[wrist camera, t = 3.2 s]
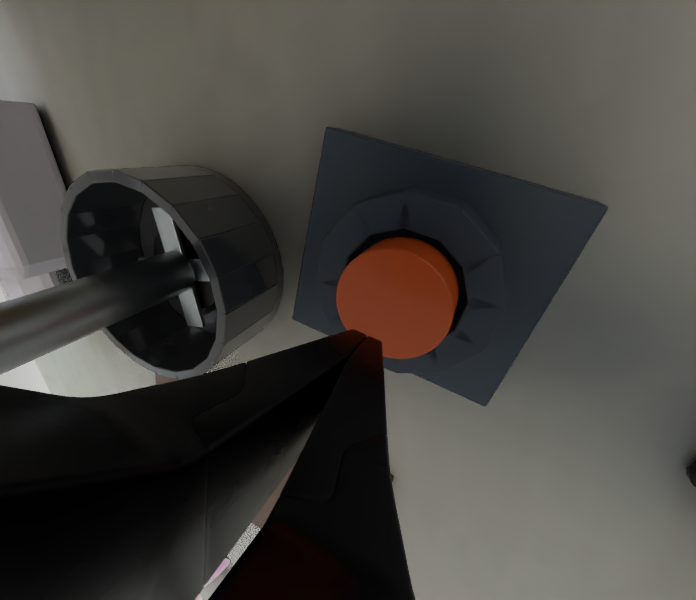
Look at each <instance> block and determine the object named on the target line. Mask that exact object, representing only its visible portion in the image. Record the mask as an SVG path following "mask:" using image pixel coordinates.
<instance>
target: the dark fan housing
mask: <svg viewBox="0 0 696 600" xmlns="http://www.w3.org/2000/svg"><path fill="white" fill-rule="evenodd" d="M152 207H160V208H162V209H163V210H164V211H165V212H167V213H168V214H169V215H170V216H171V218H172V219H173V220H174V222H175V223H176V224H177V225H178V227H179V228H180V229H181V231H182V232H183V233H184V234H185V236H186V237H187V238H188V240H189V241H190V242H191V243H192V245H193V247H194V249H195V251H196V253H197V255H198V257H199V259H200V261H201V263H202V265H203V267H204V269H205V271H206V273H207V275H208V277H209V280H210V284H211V288H212V292H213V297H214V301H215V304H214V305H212V306H210V307H207V308H201V309H202V313H203V316H204V320H205V323H206V326H205V327H204V328H202V327H194V326H188V325H187V321H186V318H185V315H184V312H183V308H182V305H181V302H180V300H179V299H177V298H176V297H175V296H174V297H172V298H170V299H168V300H165V301H163V302H161V303H159V304H156V305H154V306H152V307H150V308H148V309H145V310H143V311H141V312H139V313H136V314H134V315H132V316H130V317H127V318H125V319H123V320H121V321H119V322H116V323H114V324H112V325H110V326H107V327H105V328H103V329H102V330H103V331H104V333H105V334H106V335H107V336H108V337H109V339H110V340H111V341H112V342H113V343H114V344H115V345H116V346H117V347H118V348H120V349H121V350H122V351H123V352H124V353H125V354H126V355H128V356H129V357H130V358H131V359H132V360H133V361H135V362H136V363H138V364H140V365H142V366H143V367H145V368H147V369H149V370H151V371H152V372H154V373H156V374H159V375H163V376H167V377H171V378H174V379H186V378H190V377H194V376H198V375H202V374H204V373H205V372H206V371H208V370H209V369H211V368H212V367H213V366H215V365H216V364H217V363H219V362H220V361H221V360H223V359H224V358H225V357H227V356H228V355H229V354H231V353H232V352H233V351H235V350H236V349H237V348H239V347H240V346H241V345H242V344H244V343H245V342H246V341H248V340H249V339H250V338H252V337H253V336H254V335H256V334H257V333H258V332H260V331H261V330H262V329H263V328H264V327H266V326H267V324H268V323H269V322H270V321H271V320H272V318H273V316H274V315H275V313H276V311H277V309H278V306H279V303H280V299H281V295H282V287H283V271H282V264H281V257H280V254H279V250H278V246H277V243H276V241H275V238H274V236H273V233H272V231H271V229H270V227H269V225H268V223H267V221H266V219H265V218H264V216H263V215H262V213H261V212H260V210H259V208H258V207H257V206H256V205H255V203H254V202H253V201H252V200H251V198H250V197H249V196H248V195H247V194H246V193H245V192H244V191H243V190H242V189H241V188H239V187H238V186H237V185H236V184H234V183H233V182H232V181H231V180H229V179H227V178H226V177H224V176H223V175H221V174H219V173H217V172H214V171H212V170H210V169H206V168H203V167H198V166H187V165H185V166H163V167H142V168H121V169H105V170H93V171H87V172H86V173H84V174H83V175H82V176H81V177H79V178H78V179H77V180H76V181H74V182H73V183H72V184H71V185H70V186H69V188H68V191H67V193H66V196H65V198H64V200H63V203H62V205H61V213H60V238H61V243H62V248H63V253H64V257H65V262H66V266H67V268H68V270H69V273H70V275H71V278H72V280H73V281H74V280H77V279H80V278H84V277H87V276H90V275H94V274H97V273H100V272H103V271H107V270H110V269H113V268H116V267H120V266H123V265H126V264H130V263H133V262H136V261H139V260H138V258H140V257H153V256H154V241H155V238H156V236H157V234H158V232H159V231H158V227H157V224H156V221H155V218H154V214H153V211H152Z"/></svg>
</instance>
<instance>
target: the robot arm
mask: <svg viewBox="0 0 696 600" xmlns="http://www.w3.org/2000/svg"><path fill="white" fill-rule="evenodd" d="M297 459H298V460H297ZM296 461H297V462H296ZM295 462H296V464H295V466H294V468H293V470H292V472H291V474H290V476H289V478H288V480H287V482H286V484H285V486H284V488H283V490H282V492H281V494H280V497H279V498H278V500H277V502H276V504H275V506H274V508H273V509H272V511H271V513H270V515H269V517H268V519H267V520H266V522H265V524H264V525H263V527H262V529H261V530H260V531H259V533H258V534H257V535H256V537H255V538H254V539H253V541H252V542H251V543H250V545H249V546H248V547H247V549H246V550H245V551H244V553H243V554H242V555H241V557H240V558H239V559H238V561H237V562H236V563H235V565H234V566H233V567H232V569H231V570H230V571H229V573H228V574H227V575H226V577H225V578H224V579H223V581H222V582H221V583H220V585H219V586H218V587H217V589H216V590H215V591H214V593H213V594H212V595H211V597H210V598H209V599H208V600H415V596H414V592H413V589H412V584H411V579H410V575H409V570H408V565H407V560H406V555H405V550H404V545H403V540H402V535H401V529H400V524H399V519H398V514H397V509H396V504H395V499H394V493H393V487H392V481H391V475H390V465H389V454H388V438H387V422H386V404H385V385H384V366H383V347H382V342H381V341H380V340H378V339H375V338H373V337H371V336H366V334H364V333H362V332H359V331H357V330H355V329H351V330H347V331H344V332H341V333H338V334H335V335H331V336H328V337H325V338H322V339H318V340H315V341H312V342H309V343H306V344H302V345H299V346H296V347H293V348H290V349H286V350H283V351H280V352H277V353H273V354H270V355H267V356H264V357H261V358H257V359H254V360H251V361H248V362H247V365H246V363H241V364H238V365H234V366H231V367H228V368H224V369H221V370H217V371H214V372H210V373H207V374H202V375H198V376H194V377H190V378H186V379H181V380H177V381H172V382H168V383H163V384H159V385H154V386H149V387H145V388H140V389H136V390H131V391H127V392H122V393H117V394H112V395H107V396H99V397H81V398H80V397H66V396H59V395H53V394H46V393H41V392H36V391H30V390H24V389H18V388H13V387H7V386H1V385H0V600H195V599H196V597H197V596H198V595H199V593H200V592H201V591H202V589H203V587H204V585H205V584H207V582H208V581H209V579H210V578H211V577H212V575H213V574H214V573H215V571H216V570H217V569H218V567H219V566H220V564H221V563H222V562H223V560H224V559H225V558H226V556H227V555H228V553H229V552H230V551H231V549H232V548H233V547H234V545H235V544H236V543H237V541H238V540H239V538H240V537H241V536H242V534H243V533H244V532H245V530H246V529H247V528H248V526H249V525H250V523H251V522H252V521H253V519H254V518H255V517H256V515H257V514H258V512H259V511H260V510H261V508H262V507H263V506H264V504H265V503H266V502H267V500H268V499H269V497H270V496H271V495H272V493H273V492H274V491H275V489H276V488H277V487H278V485H279V484H280V482H281V481H282V480H283V478H284V477H285V476H286V474H287V473H288V471H289V470H290V469H291V467H292V466H293V465H294V463H295ZM686 475H687V476H688V478H689V480H690V481H691V483H692V484H693V486H695V487H696V461H695V462H693V463H692V464H691V465H690V466H689V467H688V468H687V469H686Z"/></svg>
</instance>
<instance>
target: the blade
mask: <svg viewBox="0 0 696 600" xmlns="http://www.w3.org/2000/svg"><path fill="white" fill-rule="evenodd" d="M152 211H153V214H154V218H155V221H156V224H157V227H158V231H159V232H158V234H157V236H156V238H155V241H154V256H153V257H140V258H138V260H139V261H136V262H133V263H130V264H126V265H123V266H120V267H116V268H113V269H110V270H107V271H103V272H100V273H97V274H94V275H90V276H87V277H84V278H80V279H77V280H74V281H71V282H67V283H64V284H61V285H58V286H54V287H51V288H48V289H44V290H41V291H38V292H35V293H31V294H28V295H25V296H22V297H18V298H15V299H12V300H8V301H5V302H2V303H0V374H3V373H5V372H7V371H9V370H12V369H14V368H16V367H18V366H20V365H23V364H25V363H27V362H29V361H32V360H34V359H36V358H38V357H41V356H43V355H45V354H47V353H50V352H52V351H54V350H56V349H58V348H61V347H63V346H65V345H67V344H70V343H72V342H74V341H76V340H78V339H81V338H83V337H85V336H87V335H90V334H92V333H94V332H96V331H99V330H101V329H103V328H105V327H107V326H110V325H112V324H114V323H116V322H119V321H121V320H123V319H125V318H127V317H130V316H132V315H134V314H136V313H139V312H141V311H143V310H145V309H148V308H150V307H152V306H154V305H156V304H159V303H161V302H163V301H165V300H168V299H170V298H172V297H174V296H175V297H176V298H177V299H179V300H180V302H181V305H182V308H183V312H184V315H185V318H186V321H187V325H188V326H194V327H202V328H204V327H205V326H206V323H205V320H204V316H203V313H202V309H201V308H207V307H210V306H212V305H214V304H215V301H214V297H213V292H212V288H211V284H210V280H209V277H208V275H207V273H206V271H205V269H204V267H203V265H202V263H201V261H200V259H199V257H198V255H197V253H196V251H195V249H194V247H193V245H192V243H191V242H190V241H189V240H188V238H187V237H186V236H185V234H184V233H183V232H182V231H181V229H180V228H179V227H178V225H177V224H176V223H175V222H174V220H173V219H172V218H171V216H170V215H169V214H168V213H167V212H165V211H164V210H163V209H162V208H160V207H152Z"/></svg>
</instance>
